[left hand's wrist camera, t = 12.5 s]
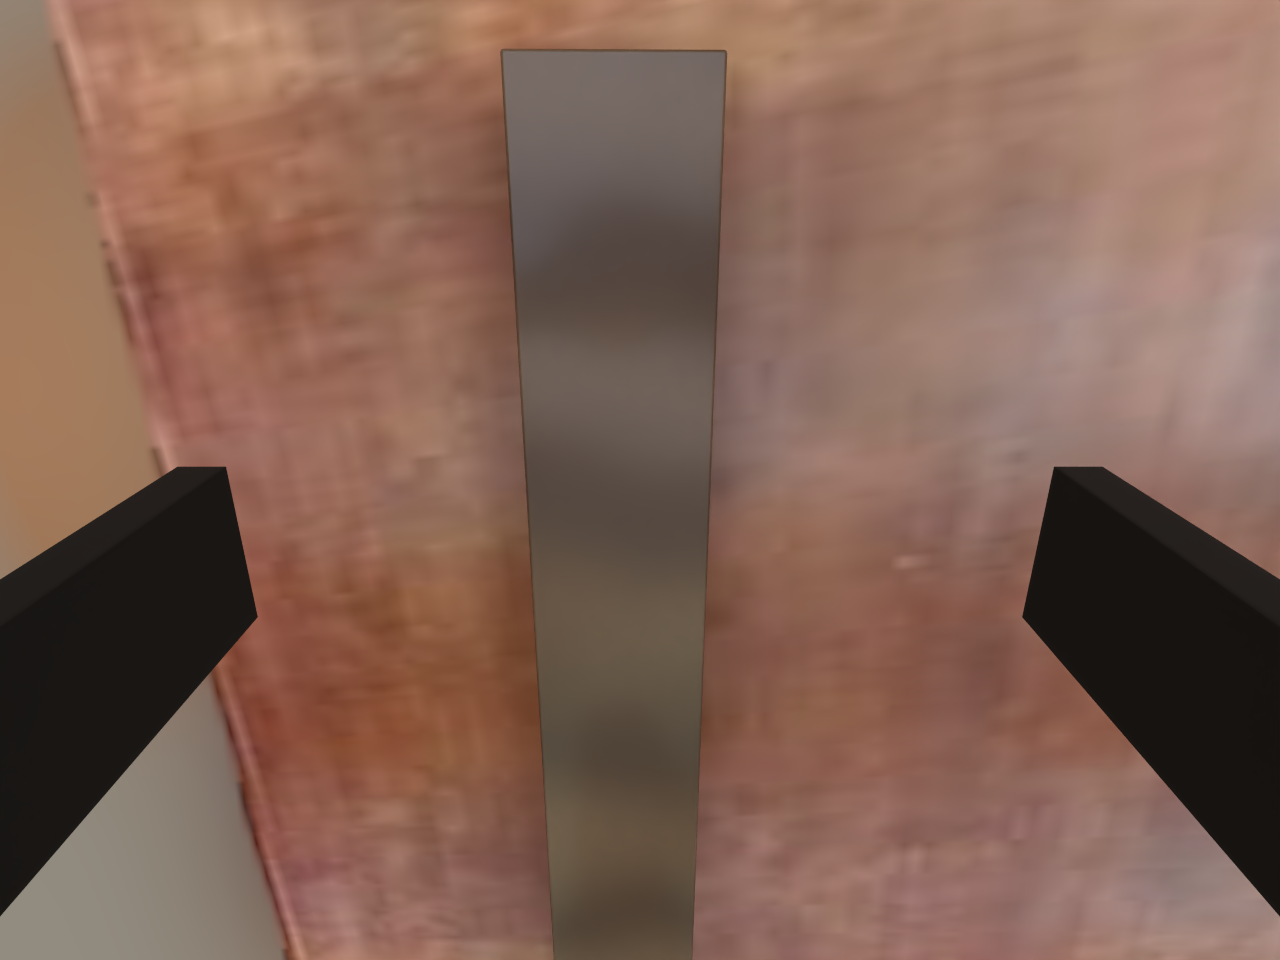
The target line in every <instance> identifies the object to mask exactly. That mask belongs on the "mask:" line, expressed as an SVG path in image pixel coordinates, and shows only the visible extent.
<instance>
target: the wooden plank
mask: <svg viewBox="0 0 1280 960" xmlns="http://www.w3.org/2000/svg"><path fill="white" fill-rule="evenodd" d="M500 53H501V70H502V87H503V104H504V121H505V138H506V155H507V172H508V188H509V205H510V222H511V239H512V256H513V273H514V290H515V307H516V324H517V341H518V358H519V375H520V392H521V408H522V425H523V442H524V459H525V476H526V493H527V510H528V527H529V544H530V561H531V578H532V595H533V611H534V628H535V645H536V662H537V679H538V696H539V713H540V730H541V747H542V764H543V781H544V798H545V815H546V831H547V848H548V865H549V882H550V899H551V916H552V933H553V950H554V960H692V948H693V923H694V897H695V871H696V845H697V819H698V793H699V767H700V741H701V716H702V690H703V664H704V638H705V612H706V586H707V560H708V534H709V509H710V483H711V457H712V431H713V405H714V379H715V353H716V327H717V302H718V276H719V250H720V224H721V198H722V172H723V146H724V120H725V95H726V69H727V52H726V51H725V50H626V49H502V50H501V52H500Z"/></svg>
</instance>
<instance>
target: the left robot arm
mask: <svg viewBox="0 0 1280 960" xmlns="http://www.w3.org/2000/svg"><path fill="white" fill-rule="evenodd" d="M257 617H258V616H257V612H256V607H255V602H254V598H253V593H252V588H251V583H250V579H249V574H248V569H247V564H246V560H245V555H244V550H243V545H242V541H241V536H240V531H239V527H238V522H237V517H236V512H235V508H234V503H233V498H232V493H231V489H230V484H229V479H228V475H227V470H226V467H176V468H175V469H173V470H172V471H170V472H169V473H167V474H165V475H164V476H162V477H161V478H159V479H158V480H156V481H154V482H153V483H151V484H150V485H148V486H147V487H145V488H144V489H142V490H140V491H139V492H137V493H136V494H134V495H132V496H131V497H129V498H128V499H126V500H125V501H123V502H121V503H120V504H118V505H117V506H115V507H114V508H112V509H110V510H109V511H107V512H106V513H104V514H103V515H101V516H99V517H98V518H96V519H95V520H93V521H92V522H90V523H88V524H87V525H85V526H84V527H82V528H81V529H79V530H77V531H76V532H74V533H73V534H71V535H70V536H68V537H66V538H65V539H63V540H62V541H60V542H58V543H57V544H55V545H54V546H52V547H51V548H49V549H47V550H46V551H44V552H43V553H41V554H40V555H38V556H36V557H35V558H33V559H32V560H30V561H29V562H27V563H26V564H24V565H22V566H21V567H19V568H18V569H16V570H15V571H13V572H11V573H10V574H8V575H7V576H5V577H3V578H2V579H0V916H1V915H2V914H3V912H4V911H5V910H6V909H7V908H8V907H9V905H10V904H11V903H12V902H13V901H14V900H15V898H16V897H17V896H18V895H19V894H20V893H21V892H22V890H23V889H24V888H25V887H26V886H27V885H28V883H29V882H30V881H31V880H32V879H33V878H34V876H35V875H36V874H37V873H38V872H39V871H40V869H41V868H42V867H43V866H44V865H45V864H46V862H47V861H48V860H49V859H50V858H51V857H52V855H53V854H54V853H55V852H56V851H57V850H58V849H59V847H60V846H61V845H62V844H63V843H64V842H65V840H66V839H67V838H68V837H69V836H70V835H71V833H72V832H73V831H74V830H75V829H76V828H77V826H78V825H79V824H80V823H81V822H82V821H83V819H84V818H85V817H86V816H87V815H88V814H89V812H90V811H91V810H92V809H93V808H94V807H95V806H96V804H97V803H98V802H99V801H100V800H101V798H102V797H103V796H104V795H105V794H106V793H107V792H108V790H109V789H110V788H111V787H112V786H113V785H114V783H115V782H116V781H117V780H118V779H119V778H120V776H121V775H122V774H123V773H124V772H125V771H126V769H127V768H128V767H129V766H130V765H131V764H132V762H133V761H134V760H135V759H136V758H137V757H138V756H139V754H140V753H141V752H142V751H143V750H144V749H145V747H146V746H147V745H148V744H149V743H150V742H151V740H152V739H153V738H154V737H155V736H156V735H157V733H158V732H159V731H160V730H161V729H162V728H163V726H164V725H165V724H166V723H167V722H168V721H169V720H170V718H171V717H172V716H173V715H174V714H175V713H176V711H177V710H178V709H179V708H180V707H181V706H182V704H183V703H184V702H185V701H186V700H187V699H188V697H189V696H190V695H191V694H192V693H193V692H194V690H195V689H196V688H197V687H198V686H199V685H200V684H201V682H202V681H203V680H204V679H205V678H206V677H207V675H208V674H209V673H210V672H211V671H212V670H213V668H214V667H215V666H216V665H217V664H218V663H219V661H220V660H221V659H222V658H223V657H224V656H225V654H226V653H227V652H228V651H229V650H230V649H231V647H232V646H233V645H234V644H235V643H236V642H237V641H238V639H239V638H240V637H241V636H242V635H243V634H244V632H245V631H246V630H247V629H248V628H249V627H250V625H251V624H252V623H253V622H254V621H255V620H256V618H257ZM1022 617H1023V618H1024V620H1025V621H1026V622H1027V623H1028V624H1029V625H1030V627H1031V628H1032V629H1033V630H1034V631H1035V632H1036V634H1037V635H1038V636H1039V637H1040V638H1041V639H1042V641H1043V642H1044V643H1045V644H1046V645H1047V646H1048V647H1049V649H1050V650H1051V651H1052V652H1053V653H1054V654H1055V656H1056V657H1057V658H1058V659H1059V660H1060V661H1061V663H1062V664H1063V665H1064V666H1065V667H1066V668H1067V670H1068V671H1069V672H1070V673H1071V674H1072V675H1073V677H1074V678H1075V679H1076V680H1077V681H1078V682H1079V684H1080V685H1081V686H1082V687H1083V688H1084V689H1085V690H1086V692H1087V693H1088V694H1089V695H1090V696H1091V697H1092V699H1093V700H1094V701H1095V702H1096V703H1097V704H1098V706H1099V707H1100V708H1101V709H1102V710H1103V711H1104V713H1105V714H1106V715H1107V716H1108V717H1109V718H1110V720H1111V721H1112V722H1113V723H1114V724H1115V725H1116V726H1117V728H1118V729H1119V730H1120V731H1121V732H1122V733H1123V735H1124V736H1125V737H1126V738H1127V739H1128V740H1129V742H1130V743H1131V744H1132V745H1133V746H1134V747H1135V749H1136V750H1137V751H1138V752H1139V753H1140V754H1141V756H1142V757H1143V758H1144V759H1145V760H1146V761H1147V763H1148V764H1149V765H1150V766H1151V767H1152V768H1153V769H1154V771H1155V772H1156V773H1157V774H1158V775H1159V776H1160V778H1161V779H1162V780H1163V781H1164V782H1165V783H1166V785H1167V786H1168V787H1169V788H1170V789H1171V790H1172V792H1173V793H1174V794H1175V795H1176V796H1177V797H1178V799H1179V800H1180V801H1181V802H1182V803H1183V804H1184V806H1185V807H1186V808H1187V809H1188V810H1189V811H1190V812H1191V814H1192V815H1193V816H1194V817H1195V818H1196V819H1197V821H1198V822H1199V823H1200V824H1201V825H1202V826H1203V828H1204V829H1205V830H1206V831H1207V832H1208V833H1209V835H1210V836H1211V837H1212V838H1213V839H1214V840H1215V842H1216V843H1217V844H1218V845H1219V846H1220V847H1221V849H1222V850H1223V851H1224V852H1225V853H1226V854H1227V855H1228V857H1229V858H1230V859H1231V860H1232V861H1233V862H1234V864H1235V865H1236V866H1237V867H1238V868H1239V869H1240V871H1241V872H1242V873H1243V874H1244V875H1245V876H1246V878H1247V879H1248V880H1249V881H1250V882H1251V883H1252V885H1253V886H1254V887H1255V888H1256V889H1257V890H1258V892H1259V893H1260V894H1261V895H1262V896H1263V897H1264V898H1265V900H1266V901H1267V902H1268V903H1269V904H1270V905H1271V907H1272V908H1273V909H1274V910H1275V911H1276V912H1277V914H1278V915H1279V916H1280V579H1278V578H1277V577H1275V576H1273V575H1272V574H1270V573H1269V572H1267V571H1266V570H1264V569H1262V568H1261V567H1259V566H1258V565H1256V564H1255V563H1253V562H1251V561H1250V560H1248V559H1247V558H1245V557H1244V556H1242V555H1240V554H1239V553H1237V552H1236V551H1234V550H1233V549H1231V548H1229V547H1228V546H1226V545H1225V544H1223V543H1222V542H1220V541H1218V540H1217V539H1215V538H1214V537H1212V536H1211V535H1209V534H1207V533H1206V532H1204V531H1203V530H1201V529H1200V528H1198V527H1196V526H1195V525H1193V524H1192V523H1190V522H1188V521H1187V520H1185V519H1184V518H1182V517H1181V516H1179V515H1177V514H1176V513H1174V512H1173V511H1171V510H1170V509H1168V508H1166V507H1165V506H1163V505H1162V504H1160V503H1159V502H1157V501H1155V500H1154V499H1152V498H1151V497H1149V496H1148V495H1146V494H1144V493H1143V492H1141V491H1140V490H1138V489H1137V488H1135V487H1133V486H1132V485H1130V484H1129V483H1127V482H1126V481H1124V480H1122V479H1121V478H1119V477H1118V476H1116V475H1115V474H1113V473H1111V472H1110V471H1108V470H1107V469H1105V468H1104V467H1054V470H1053V475H1052V479H1051V484H1050V489H1049V493H1048V498H1047V503H1046V508H1045V512H1044V517H1043V522H1042V527H1041V531H1040V536H1039V541H1038V546H1037V550H1036V555H1035V560H1034V564H1033V569H1032V574H1031V579H1030V583H1029V588H1028V593H1027V598H1026V602H1025V607H1024V612H1023V616H1022Z"/></svg>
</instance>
